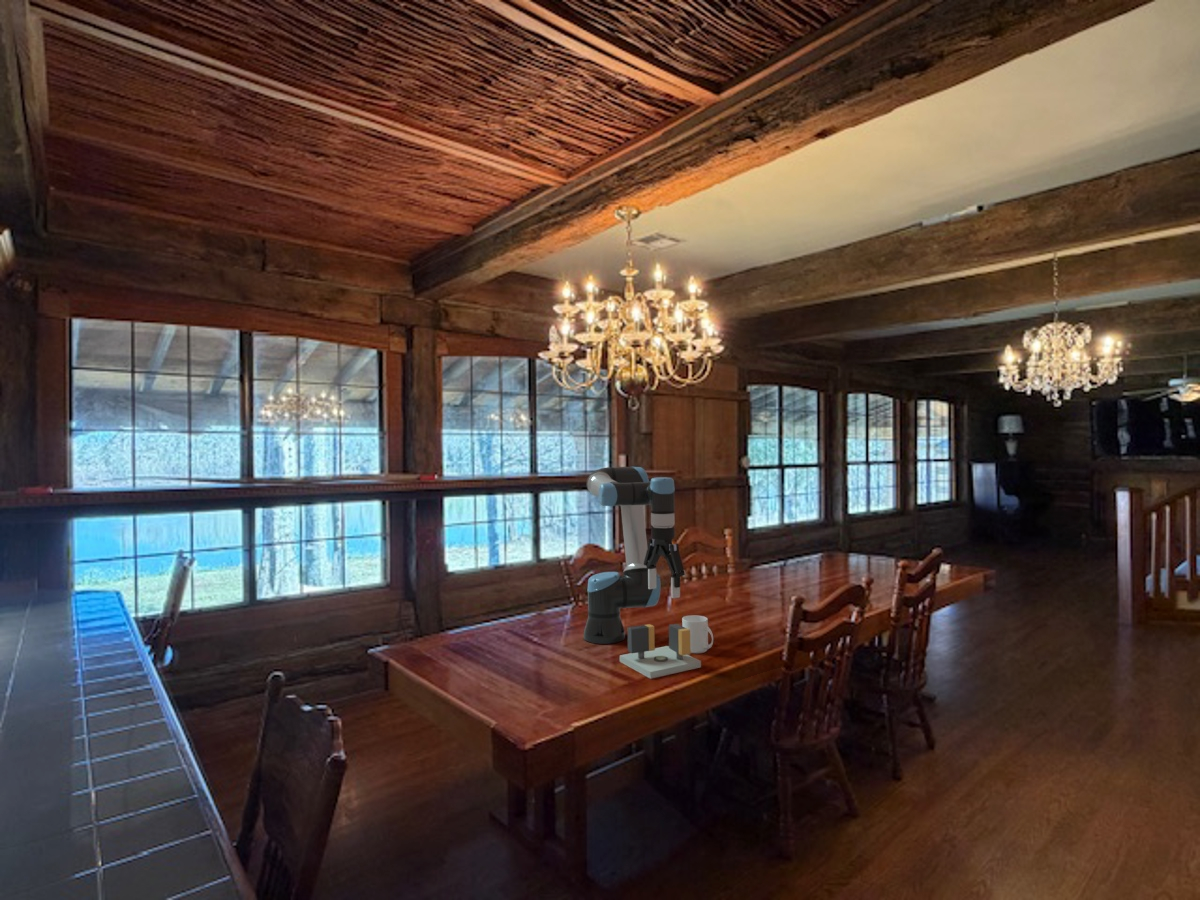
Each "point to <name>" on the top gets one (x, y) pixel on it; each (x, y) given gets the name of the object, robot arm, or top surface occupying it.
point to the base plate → (659, 662)
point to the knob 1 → (641, 639)
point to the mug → (698, 633)
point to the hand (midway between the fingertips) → (663, 593)
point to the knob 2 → (679, 640)
